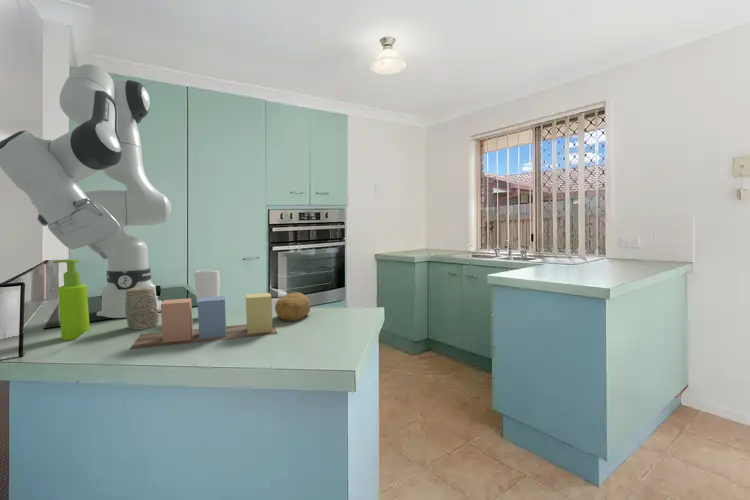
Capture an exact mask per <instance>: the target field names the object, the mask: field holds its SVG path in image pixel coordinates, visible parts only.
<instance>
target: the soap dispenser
mask: <svg viewBox="0 0 750 500" xmlns="http://www.w3.org/2000/svg"><path fill="white" fill-rule="evenodd" d="M52 262H53V264H59V263H65V264H66V270H67V271H65V272H64V273H63V285H62V286H59V287H57V292H58V294H57V296H58V307H59V309H58V310H59V319H60V320H59V322H60V323H59V324H60V334H61V335H60V336H61V340H63V339H64V341H71V340H73V339H75V340H76V339H78V338H79V337H80V336H82V335H83V334H85V333H86V332H88V331H90V329H91V328H90V314H89V312H90V310H89V301H88V300H89V299H88V285H87V284H82V282H81V272H80V271H78V270H76V264H77V263H80V260H79V259H71V258H67V259H59V260H54V261H52Z"/></svg>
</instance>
